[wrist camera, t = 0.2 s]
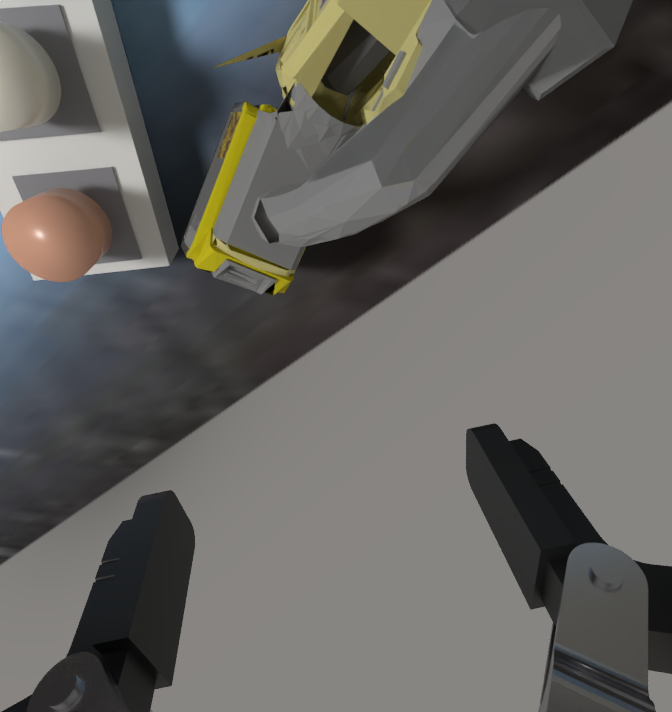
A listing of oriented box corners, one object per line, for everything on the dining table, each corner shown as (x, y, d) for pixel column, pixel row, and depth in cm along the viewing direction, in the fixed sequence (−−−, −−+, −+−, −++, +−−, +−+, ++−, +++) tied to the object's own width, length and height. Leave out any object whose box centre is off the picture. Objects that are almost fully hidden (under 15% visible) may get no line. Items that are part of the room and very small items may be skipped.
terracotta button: (15, 191, 27) (-15, 204, 25) (96, 184, 28) (75, 195, 25) (49, 266, 30) (25, 286, 27) (122, 258, 31) (106, 277, 28)
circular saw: (645, -347, 19) (809, 55, 11) (293, 107, 42) (260, 345, 34) (508, -728, 13) (636, -490, 5) (188, 37, 36) (118, 303, 28)
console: (-148, -203, 22) (-228, -257, 19) (53, -211, 23) (13, -264, 19) (56, 262, 36) (32, 281, 32) (178, 248, 36) (169, 266, 33)
